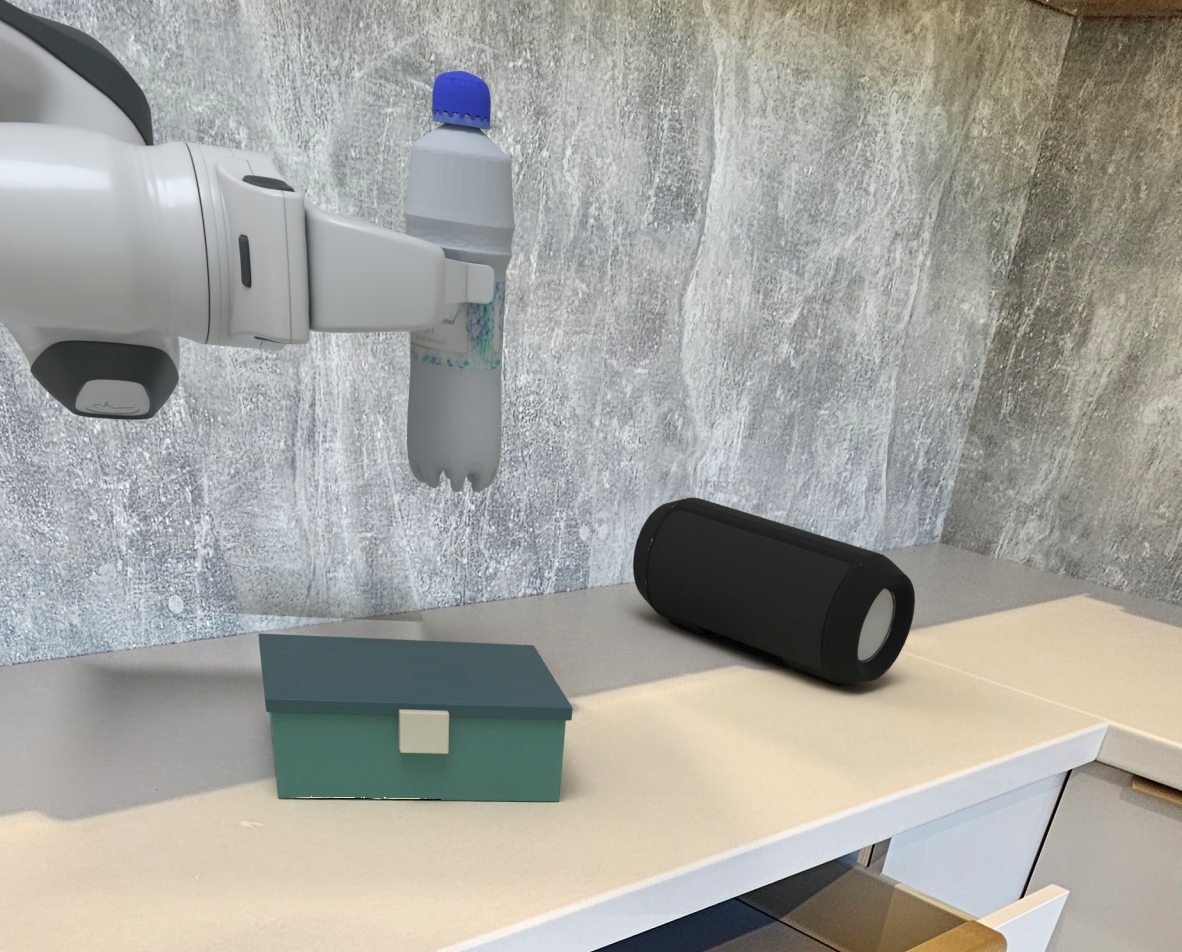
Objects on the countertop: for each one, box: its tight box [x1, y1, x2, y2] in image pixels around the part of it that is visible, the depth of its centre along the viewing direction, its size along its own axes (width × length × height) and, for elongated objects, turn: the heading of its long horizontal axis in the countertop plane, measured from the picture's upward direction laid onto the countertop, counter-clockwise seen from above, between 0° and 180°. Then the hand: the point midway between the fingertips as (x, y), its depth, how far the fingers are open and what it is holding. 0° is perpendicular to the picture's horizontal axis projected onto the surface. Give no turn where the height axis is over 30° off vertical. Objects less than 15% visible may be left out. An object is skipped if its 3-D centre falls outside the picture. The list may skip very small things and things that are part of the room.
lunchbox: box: [258, 633, 574, 802], centre depth 78 cm, size 19×14×6 cm
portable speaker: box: [632, 497, 916, 686], centre depth 105 cm, size 26×10×10 cm, turn 45°
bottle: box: [403, 70, 516, 493], centre depth 74 cm, size 7×7×20 cm
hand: (471, 277), depth 74 cm, fingers closed on bottle, 6 cm apart
